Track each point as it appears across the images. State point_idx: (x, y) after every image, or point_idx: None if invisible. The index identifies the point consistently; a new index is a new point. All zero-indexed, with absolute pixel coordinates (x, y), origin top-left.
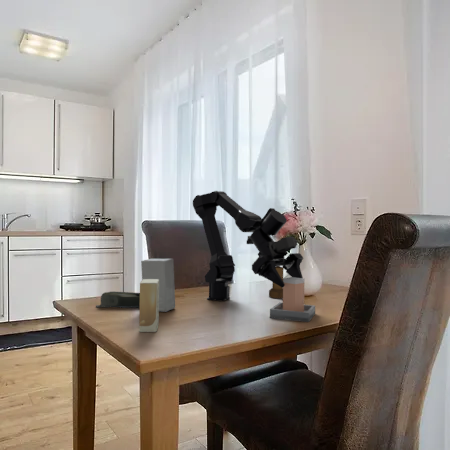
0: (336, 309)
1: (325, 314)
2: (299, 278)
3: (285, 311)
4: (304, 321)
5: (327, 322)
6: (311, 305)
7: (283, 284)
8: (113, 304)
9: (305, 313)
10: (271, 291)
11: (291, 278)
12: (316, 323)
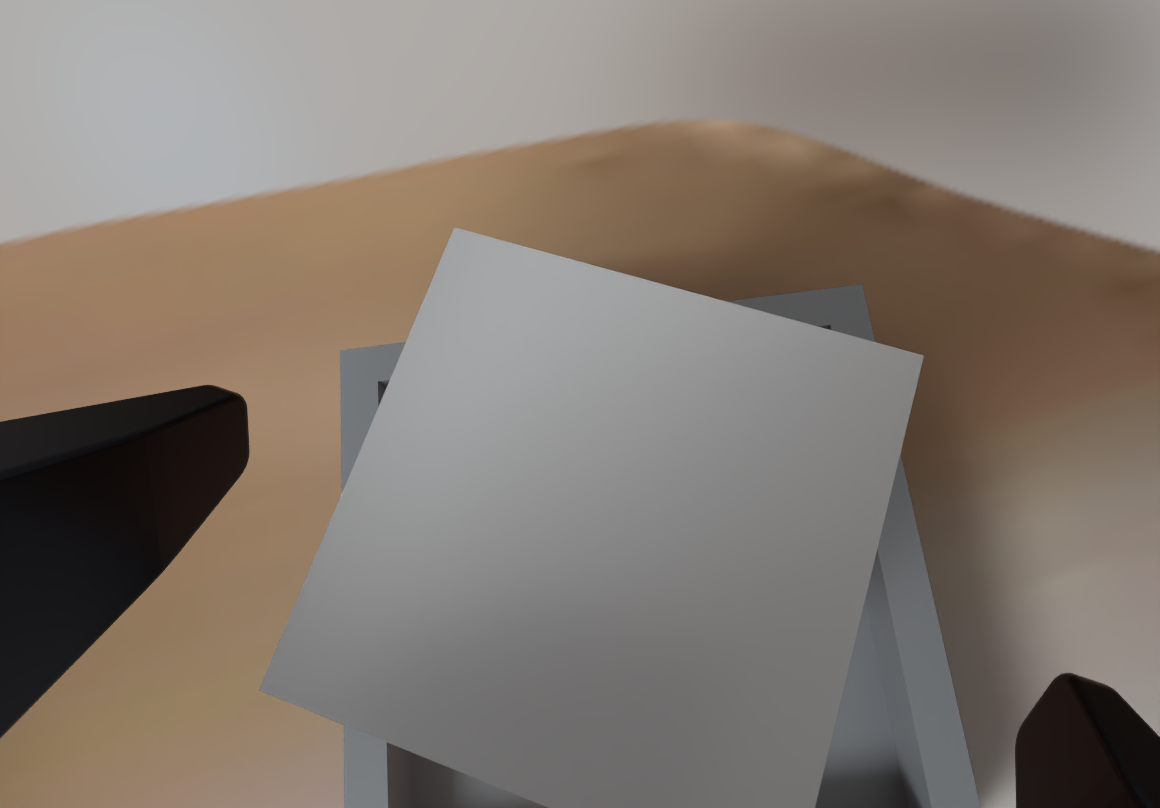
0: (32, 249)
1: (349, 282)
2: (489, 362)
3: (933, 609)
4: None
5: (718, 167)
6: (357, 396)
7: (1121, 706)
8: None
9: (867, 327)
10: None
11: (639, 592)
12: (833, 244)
